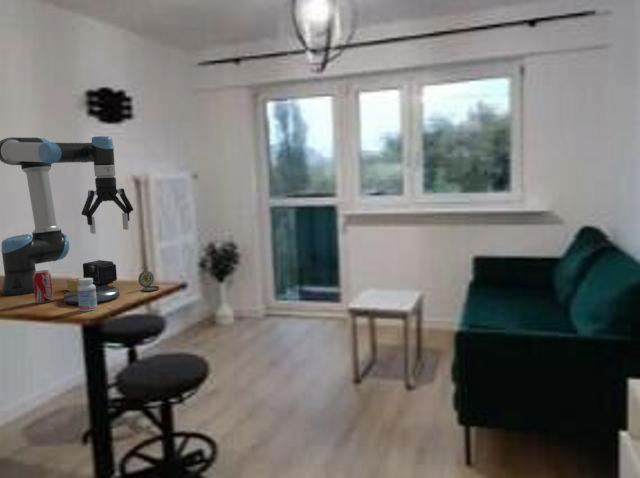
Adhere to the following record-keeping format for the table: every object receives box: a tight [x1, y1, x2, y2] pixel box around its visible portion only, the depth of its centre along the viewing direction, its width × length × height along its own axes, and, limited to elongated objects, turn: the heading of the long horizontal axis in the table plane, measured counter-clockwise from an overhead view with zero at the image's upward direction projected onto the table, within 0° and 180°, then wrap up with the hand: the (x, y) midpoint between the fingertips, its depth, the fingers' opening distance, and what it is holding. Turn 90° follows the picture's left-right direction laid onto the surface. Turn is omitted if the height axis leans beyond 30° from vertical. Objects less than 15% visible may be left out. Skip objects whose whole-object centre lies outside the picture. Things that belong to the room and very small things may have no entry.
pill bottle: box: [77, 277, 98, 313], centre depth 199 cm, size 6×6×11 cm
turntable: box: [63, 279, 120, 305], centre depth 216 cm, size 23×20×6 cm
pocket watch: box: [138, 264, 160, 292], centre depth 229 cm, size 8×8×10 cm
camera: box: [82, 259, 118, 287], centre depth 239 cm, size 11×11×15 cm
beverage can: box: [33, 269, 54, 304], centre depth 214 cm, size 6×6×12 cm
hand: (109, 231), depth 219 cm, fingers open, 13 cm apart
